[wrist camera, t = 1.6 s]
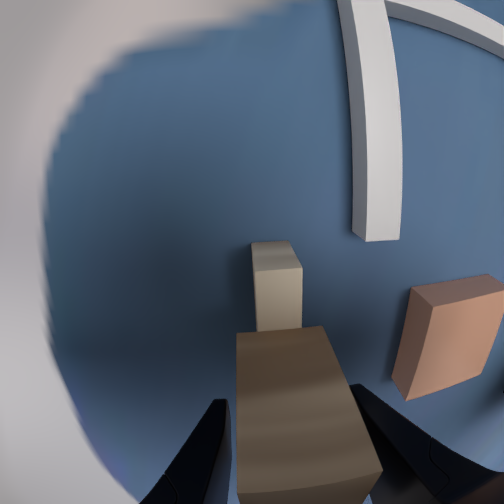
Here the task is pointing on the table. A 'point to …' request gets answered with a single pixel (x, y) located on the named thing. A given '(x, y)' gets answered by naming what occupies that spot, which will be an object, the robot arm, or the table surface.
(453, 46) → the table surface
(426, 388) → the tile
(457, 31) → the corral
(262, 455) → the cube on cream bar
